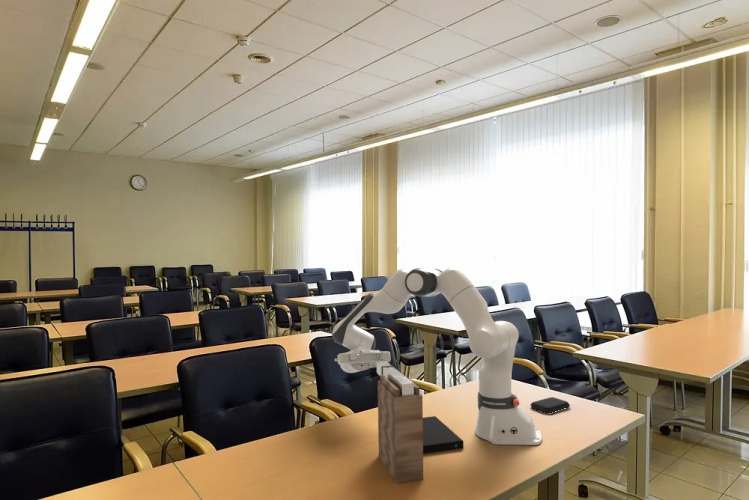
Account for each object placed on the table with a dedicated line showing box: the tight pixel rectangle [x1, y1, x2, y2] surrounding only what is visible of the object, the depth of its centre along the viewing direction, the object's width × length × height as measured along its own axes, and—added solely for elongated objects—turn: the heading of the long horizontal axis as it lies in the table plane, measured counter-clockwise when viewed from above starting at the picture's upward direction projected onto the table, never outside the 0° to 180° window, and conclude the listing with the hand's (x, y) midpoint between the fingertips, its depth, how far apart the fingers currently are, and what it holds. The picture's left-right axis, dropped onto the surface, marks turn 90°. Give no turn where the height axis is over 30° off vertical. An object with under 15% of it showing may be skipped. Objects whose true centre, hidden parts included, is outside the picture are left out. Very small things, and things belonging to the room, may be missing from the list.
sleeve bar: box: [376, 362, 415, 396], centre depth 146 cm, size 26×4×4 cm, turn 16°
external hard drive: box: [423, 415, 465, 455], centre depth 163 cm, size 14×23×3 cm, turn 16°
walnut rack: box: [377, 375, 424, 485], centre depth 141 cm, size 18×8×26 cm, turn 16°
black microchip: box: [529, 396, 571, 414], centre depth 191 cm, size 11×3×15 cm
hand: (370, 355), depth 172 cm, fingers open, 8 cm apart
